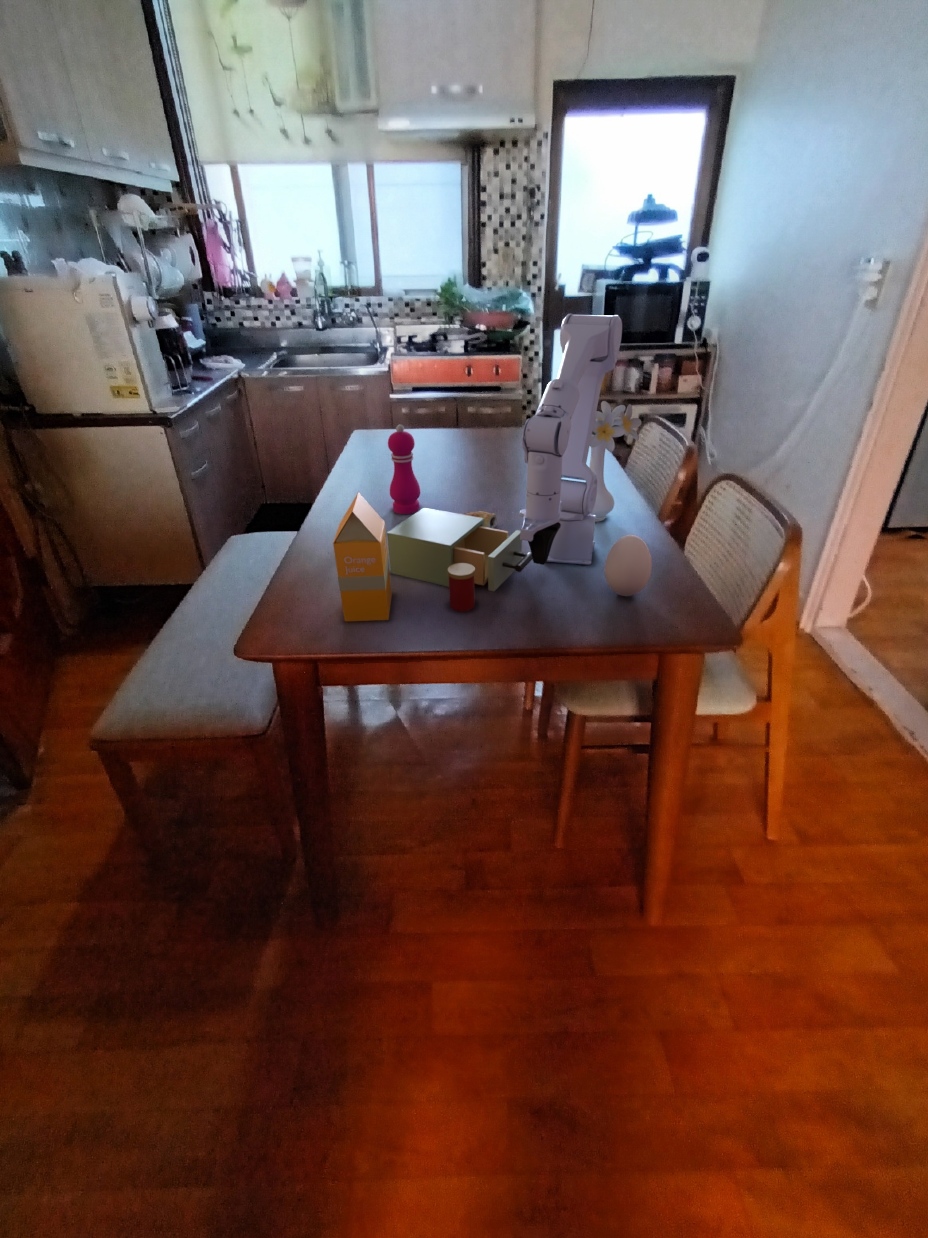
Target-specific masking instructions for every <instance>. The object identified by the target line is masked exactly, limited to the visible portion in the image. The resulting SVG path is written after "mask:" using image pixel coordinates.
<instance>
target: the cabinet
mask: <svg viewBox="0 0 928 1238" xmlns="http://www.w3.org/2000/svg"><path fill="white" fill-rule="evenodd" d="M462 514H463V513H456V512H450V511H445V510H441V509H434V508H429V507H423V508H421V509H419V510H418V511H417V512H415V513H413V514H412V515H411V516H409V517H408V518H406V519H405V520H403V521H401V522H400V523H399V524H397V525H396V526H394V527H393V528H392V529H390V530H388V531H387V532H386V539H387V549H388V559H389V570H390V574H394V575H396V576H402V577H405V578H410V579H413V580H418V581H422V582H425V583H426V582H427V583H431V584H434V585H440V586H443V587H447V588H449V575H448V567H449V566H451V565H453V547H454V546H455V545H457V544H458V543H459V542H460V541H462V540H463V539H464V538H465V537H466V536H468V535H469V534H470V533H471V532H472V531H474V530H475V529H476V528H477V527H479V526H483V527H484V518H479V517H473V516H468V515H462Z"/></svg>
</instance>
